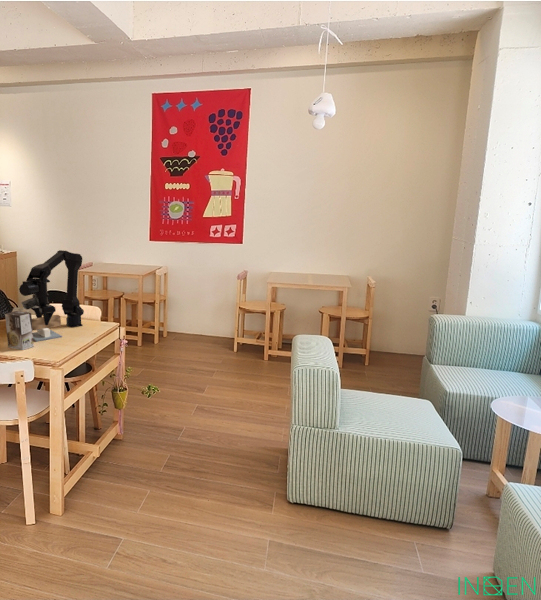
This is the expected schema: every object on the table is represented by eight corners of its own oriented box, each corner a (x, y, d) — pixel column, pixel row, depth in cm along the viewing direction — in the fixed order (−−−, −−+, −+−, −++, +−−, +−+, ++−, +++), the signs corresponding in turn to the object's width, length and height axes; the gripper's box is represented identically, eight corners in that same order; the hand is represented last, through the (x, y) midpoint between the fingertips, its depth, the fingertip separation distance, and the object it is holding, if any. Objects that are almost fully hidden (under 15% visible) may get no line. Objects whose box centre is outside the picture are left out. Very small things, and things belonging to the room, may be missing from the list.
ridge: (50, 331, 229) (50, 323, 228) (61, 337, 219) (61, 328, 219) (25, 335, 220) (25, 326, 219) (36, 341, 211) (35, 332, 210)
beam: (57, 324, 226) (57, 314, 225) (61, 325, 224) (60, 316, 223) (24, 329, 214) (24, 319, 213) (28, 331, 212) (27, 321, 211)
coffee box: (34, 346, 204) (32, 312, 201) (22, 350, 198) (20, 315, 195) (19, 343, 207) (16, 310, 204) (7, 347, 201) (4, 313, 198)
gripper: (16, 291, 216) (18, 322, 219) (30, 297, 203) (32, 329, 206) (40, 289, 224) (42, 318, 227) (55, 294, 211) (56, 326, 214)
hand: (42, 323), depth 218 cm, fingers open, 9 cm apart
